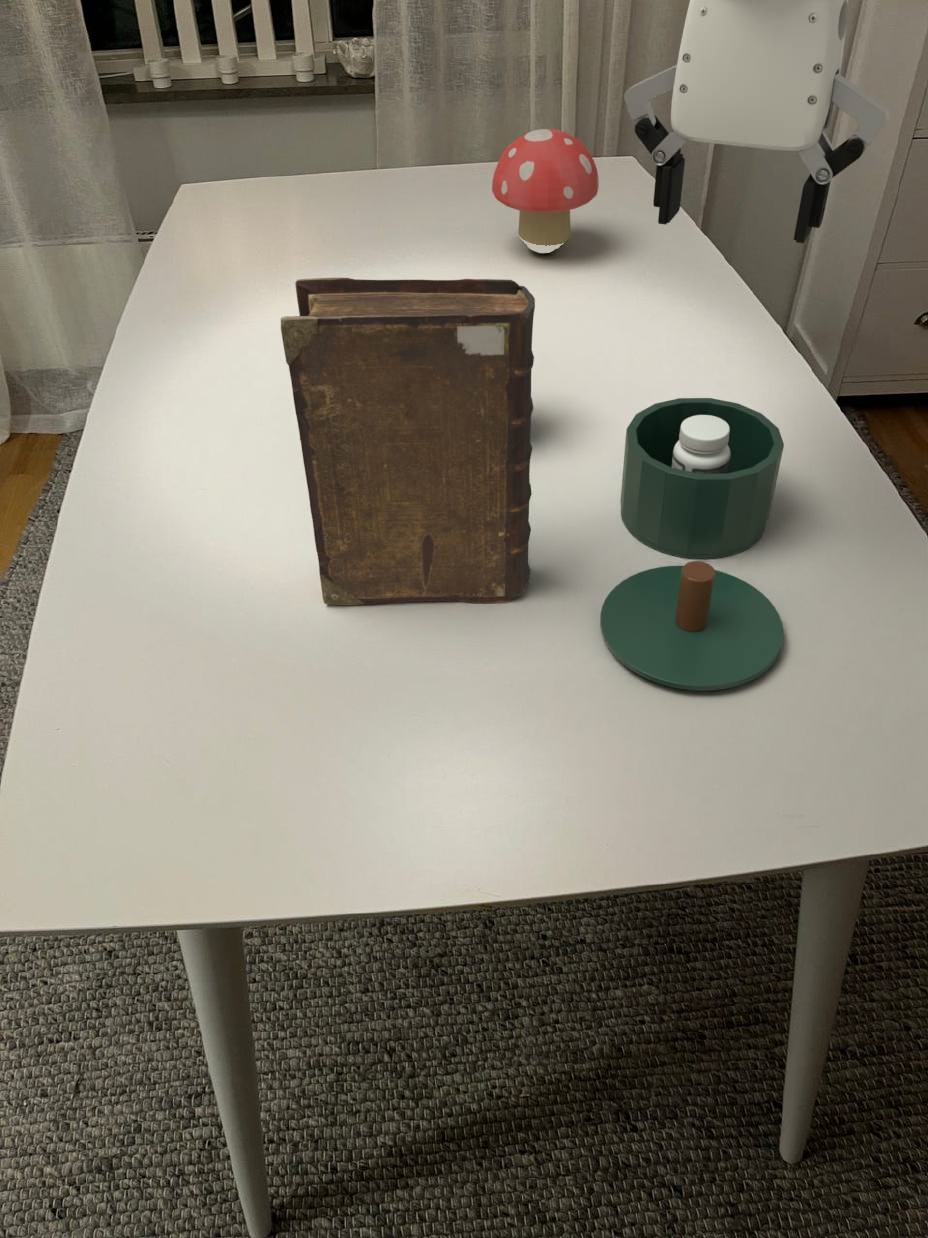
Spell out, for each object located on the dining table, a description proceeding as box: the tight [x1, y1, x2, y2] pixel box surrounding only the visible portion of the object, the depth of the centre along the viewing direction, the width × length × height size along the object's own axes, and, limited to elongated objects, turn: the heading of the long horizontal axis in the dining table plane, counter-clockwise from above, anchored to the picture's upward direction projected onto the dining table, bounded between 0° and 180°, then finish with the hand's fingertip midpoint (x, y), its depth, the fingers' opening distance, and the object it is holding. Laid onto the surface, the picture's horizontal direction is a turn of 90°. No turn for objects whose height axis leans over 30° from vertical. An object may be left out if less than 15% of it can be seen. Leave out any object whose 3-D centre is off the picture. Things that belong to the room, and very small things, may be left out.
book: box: [280, 277, 536, 606], centre depth 75 cm, size 17×7×25 cm, turn 83°
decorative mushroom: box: [491, 128, 600, 246], centre depth 128 cm, size 13×13×15 cm
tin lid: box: [599, 560, 784, 692], centre depth 76 cm, size 14×14×6 cm
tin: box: [619, 397, 785, 560], centre depth 87 cm, size 13×13×8 cm
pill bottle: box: [671, 415, 731, 474], centre depth 86 cm, size 5×5×8 cm
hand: (734, 226), depth 73 cm, fingers open, 9 cm apart
